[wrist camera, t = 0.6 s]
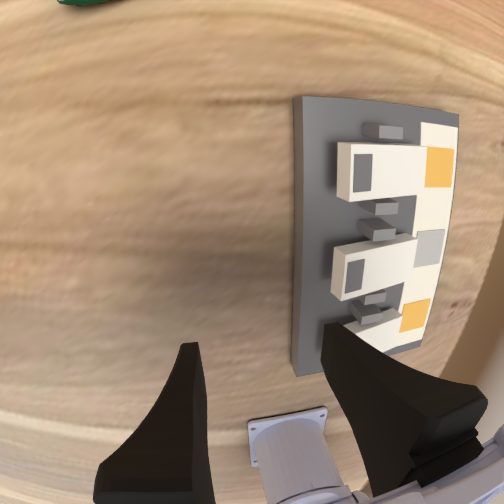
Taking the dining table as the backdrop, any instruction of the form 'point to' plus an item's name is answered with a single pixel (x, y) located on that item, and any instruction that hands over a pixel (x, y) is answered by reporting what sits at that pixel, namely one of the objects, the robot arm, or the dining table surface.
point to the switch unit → (365, 217)
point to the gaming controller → (80, 2)
